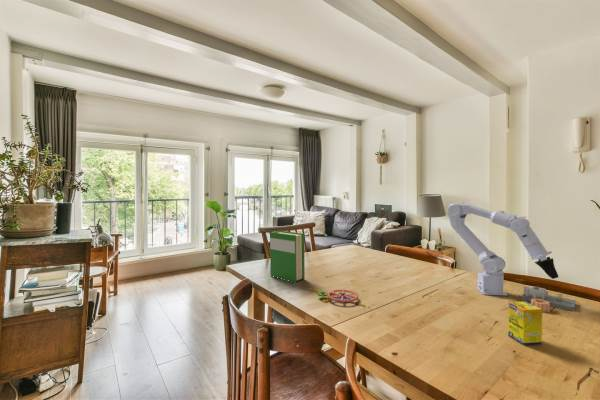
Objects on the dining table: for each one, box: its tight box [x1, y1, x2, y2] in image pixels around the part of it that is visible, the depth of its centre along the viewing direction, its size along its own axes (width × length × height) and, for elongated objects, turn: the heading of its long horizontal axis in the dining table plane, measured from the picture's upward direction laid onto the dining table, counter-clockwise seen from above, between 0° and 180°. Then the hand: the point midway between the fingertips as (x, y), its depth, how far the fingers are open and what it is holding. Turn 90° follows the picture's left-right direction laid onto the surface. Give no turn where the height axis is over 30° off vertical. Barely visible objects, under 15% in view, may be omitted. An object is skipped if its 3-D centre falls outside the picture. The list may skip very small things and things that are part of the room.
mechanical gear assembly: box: [307, 287, 366, 308], centre depth 127 cm, size 30×4×15 cm
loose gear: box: [530, 299, 551, 313], centre depth 113 cm, size 6×6×3 cm
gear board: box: [521, 285, 577, 312], centre depth 119 cm, size 16×10×5 cm, turn 45°
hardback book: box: [269, 230, 306, 283], centre depth 154 cm, size 18×7×24 cm, turn 50°
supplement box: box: [507, 301, 543, 346], centre depth 90 cm, size 6×6×11 cm
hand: (554, 277), depth 114 cm, fingers open, 7 cm apart
